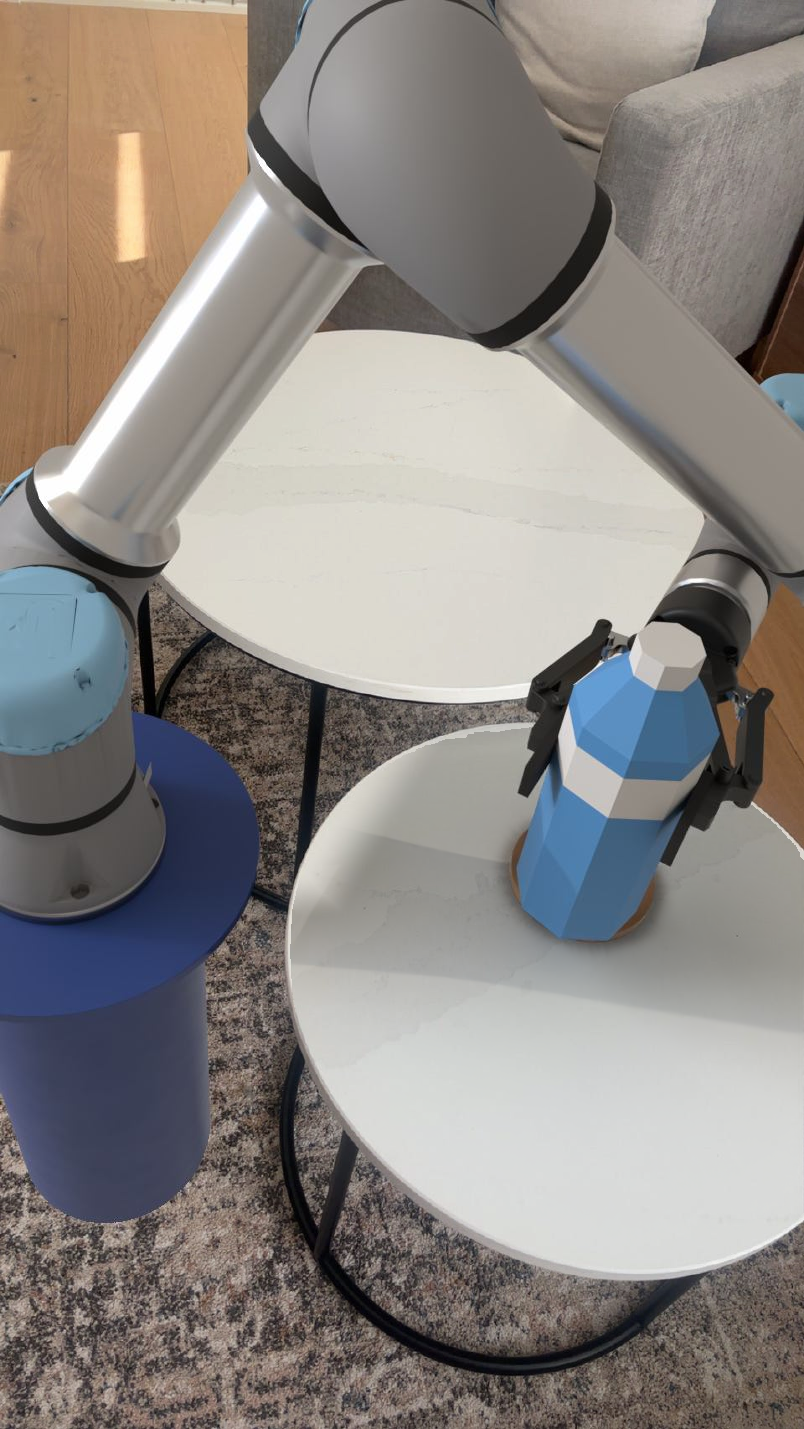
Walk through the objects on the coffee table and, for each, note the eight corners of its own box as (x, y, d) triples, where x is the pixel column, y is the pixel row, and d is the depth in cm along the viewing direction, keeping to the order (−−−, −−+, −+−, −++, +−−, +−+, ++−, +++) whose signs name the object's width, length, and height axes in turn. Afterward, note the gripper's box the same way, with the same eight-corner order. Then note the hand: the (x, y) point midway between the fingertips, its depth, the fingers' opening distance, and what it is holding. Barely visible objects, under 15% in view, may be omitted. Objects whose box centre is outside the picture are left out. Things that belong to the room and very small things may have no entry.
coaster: (488, 904, 88) (490, 897, 87) (535, 803, 96) (537, 795, 95) (630, 965, 85) (634, 958, 85) (666, 855, 93) (669, 848, 93)
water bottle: (648, 865, 84) (760, 622, 66) (622, 962, 78) (739, 722, 60) (533, 823, 86) (612, 575, 68) (498, 915, 79) (575, 668, 61)
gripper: (824, 717, 83) (742, 929, 69) (562, 606, 89) (437, 780, 75) (864, 645, 78) (785, 858, 64) (583, 532, 84) (452, 703, 69)
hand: (597, 816), depth 69 cm, fingers closed on water bottle, 9 cm apart
